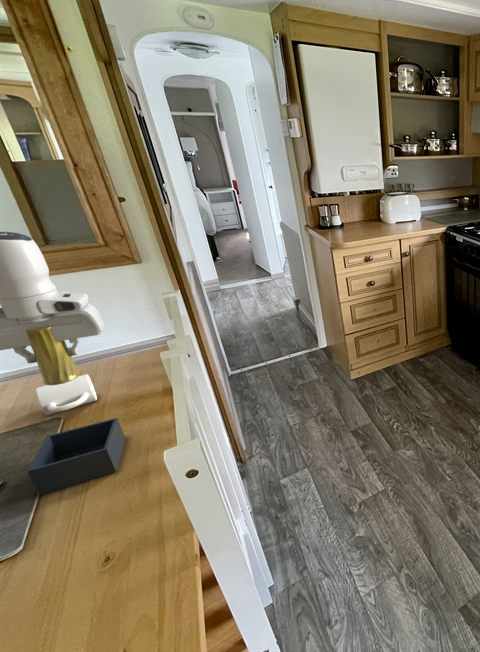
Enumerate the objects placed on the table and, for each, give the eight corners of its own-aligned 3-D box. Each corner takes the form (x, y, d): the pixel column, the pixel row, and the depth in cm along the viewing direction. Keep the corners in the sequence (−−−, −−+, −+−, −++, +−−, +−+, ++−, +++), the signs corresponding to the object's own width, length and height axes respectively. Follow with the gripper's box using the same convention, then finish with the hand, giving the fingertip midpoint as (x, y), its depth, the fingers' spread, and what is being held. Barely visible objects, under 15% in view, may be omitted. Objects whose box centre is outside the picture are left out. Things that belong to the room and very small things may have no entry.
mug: (47, 407, 105) (36, 383, 102) (96, 392, 111) (86, 369, 108) (47, 428, 97) (34, 403, 94) (99, 411, 103) (89, 387, 101)
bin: (39, 495, 78) (26, 471, 76) (58, 457, 88) (47, 435, 85) (116, 471, 85) (106, 449, 82) (125, 439, 94) (117, 417, 92)
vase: (38, 388, 88) (14, 333, 82) (52, 374, 93) (30, 322, 88) (72, 382, 90) (51, 329, 85) (84, 370, 95) (65, 318, 90)
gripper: (-47, 318, 77) (-18, 376, 82) (89, 301, 87) (108, 353, 92) (-31, 307, 81) (-5, 363, 86) (96, 293, 92) (113, 343, 97)
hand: (54, 358), depth 89 cm, fingers closed on vase, 5 cm apart
